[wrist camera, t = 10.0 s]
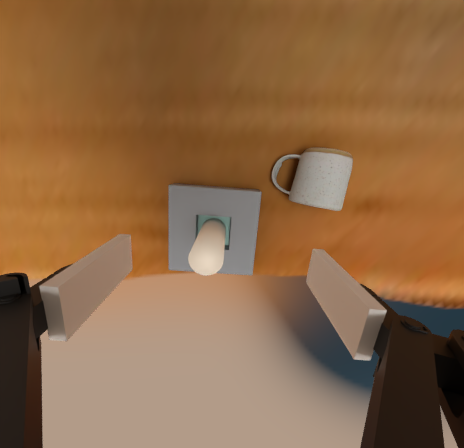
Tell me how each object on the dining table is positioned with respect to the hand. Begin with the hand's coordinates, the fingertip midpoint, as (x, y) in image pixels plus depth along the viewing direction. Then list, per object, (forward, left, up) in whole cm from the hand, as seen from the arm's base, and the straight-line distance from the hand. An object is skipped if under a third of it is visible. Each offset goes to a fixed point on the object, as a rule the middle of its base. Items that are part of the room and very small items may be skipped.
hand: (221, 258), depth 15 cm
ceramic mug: (-5, +12, -22) cm, 26 cm away
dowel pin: (+4, -2, -20) cm, 21 cm away
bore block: (+4, -2, -22) cm, 22 cm away
